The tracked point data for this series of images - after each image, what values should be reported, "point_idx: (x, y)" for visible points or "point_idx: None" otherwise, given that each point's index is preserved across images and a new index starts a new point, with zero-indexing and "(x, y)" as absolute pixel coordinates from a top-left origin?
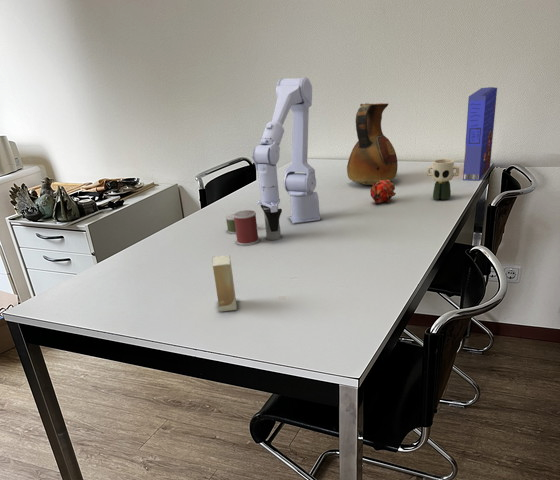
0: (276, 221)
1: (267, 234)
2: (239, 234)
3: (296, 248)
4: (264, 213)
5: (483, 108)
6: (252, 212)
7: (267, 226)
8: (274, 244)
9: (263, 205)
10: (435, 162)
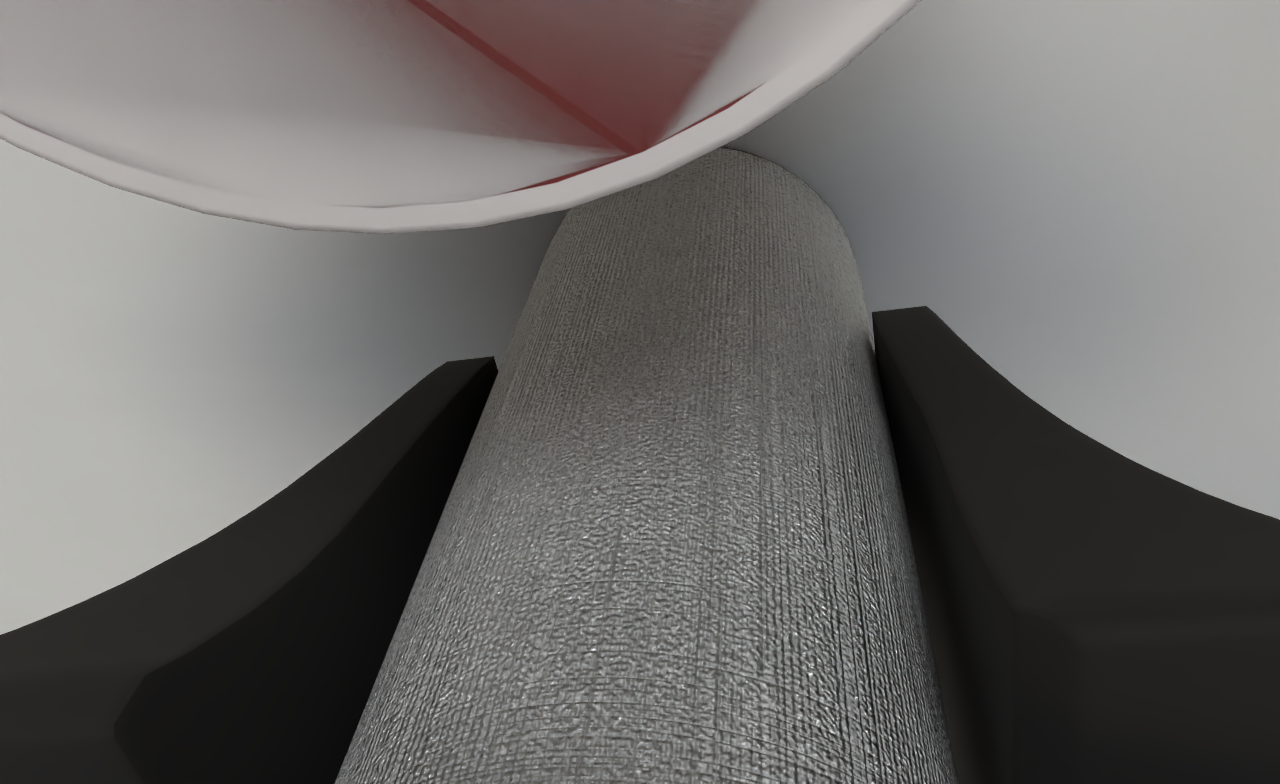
0: None
1: (588, 218)
2: None
3: (59, 606)
4: (527, 566)
5: None
6: (409, 24)
7: (521, 345)
8: (266, 296)
9: (1238, 756)
10: None
